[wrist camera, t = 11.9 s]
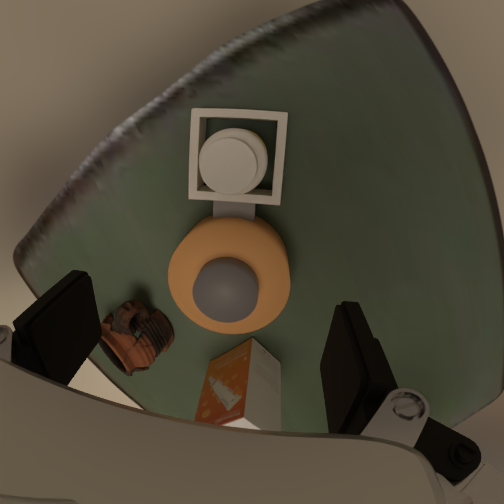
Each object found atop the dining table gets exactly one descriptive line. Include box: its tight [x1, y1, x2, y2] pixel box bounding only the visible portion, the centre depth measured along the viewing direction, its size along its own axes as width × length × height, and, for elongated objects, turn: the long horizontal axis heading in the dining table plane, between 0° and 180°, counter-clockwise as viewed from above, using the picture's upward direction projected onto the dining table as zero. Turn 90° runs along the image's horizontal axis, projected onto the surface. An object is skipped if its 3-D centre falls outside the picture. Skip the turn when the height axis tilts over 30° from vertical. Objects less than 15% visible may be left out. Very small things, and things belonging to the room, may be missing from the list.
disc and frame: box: [168, 108, 290, 334], centre depth 28 cm, size 12×22×7 cm, turn 176°
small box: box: [194, 337, 281, 431], centre depth 33 cm, size 8×6×13 cm
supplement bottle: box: [199, 128, 268, 195], centre depth 24 cm, size 5×5×10 cm
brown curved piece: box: [98, 300, 174, 376], centre depth 35 cm, size 12×10×8 cm
